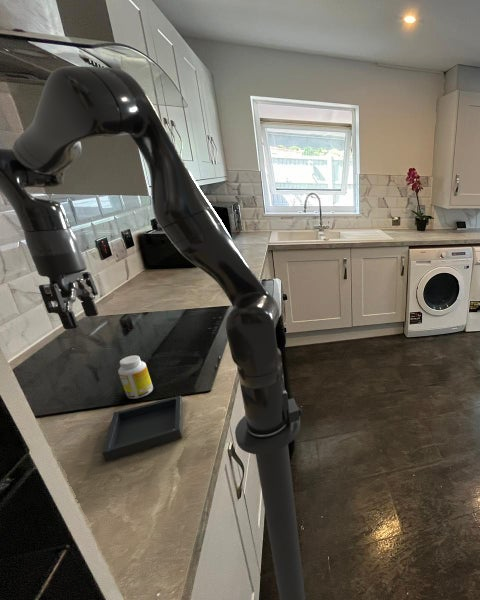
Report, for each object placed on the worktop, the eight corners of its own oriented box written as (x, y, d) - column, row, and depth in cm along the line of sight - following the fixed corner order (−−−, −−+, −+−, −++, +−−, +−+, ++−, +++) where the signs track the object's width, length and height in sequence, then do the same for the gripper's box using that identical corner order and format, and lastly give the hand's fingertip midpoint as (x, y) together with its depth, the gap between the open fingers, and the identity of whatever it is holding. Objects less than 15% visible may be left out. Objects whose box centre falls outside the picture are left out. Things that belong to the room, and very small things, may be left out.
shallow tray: (182, 403, 81) (180, 395, 80) (182, 438, 71) (179, 429, 70) (116, 420, 75) (113, 412, 74) (105, 462, 65) (101, 452, 64)
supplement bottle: (156, 384, 87) (147, 352, 84) (149, 397, 83) (138, 364, 79) (131, 388, 86) (120, 355, 82) (122, 401, 81) (110, 367, 77)
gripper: (57, 254, 64) (86, 330, 69) (95, 245, 76) (116, 310, 81) (7, 258, 61) (41, 336, 66) (55, 248, 74) (80, 314, 79)
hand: (82, 321), depth 74 cm, fingers open, 8 cm apart
